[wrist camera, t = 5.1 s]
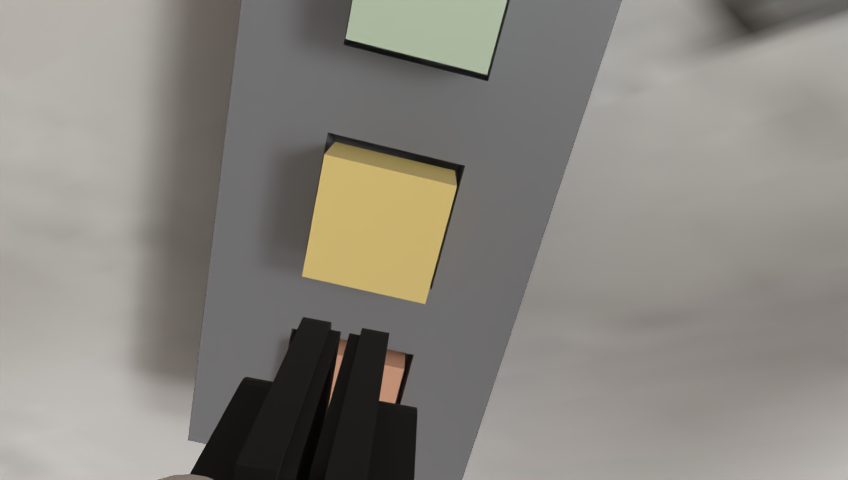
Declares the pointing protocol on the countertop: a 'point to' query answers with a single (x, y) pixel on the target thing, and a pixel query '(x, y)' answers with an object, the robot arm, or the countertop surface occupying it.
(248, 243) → the console
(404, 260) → the ochre key
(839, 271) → the countertop surface
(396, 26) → the sage key
